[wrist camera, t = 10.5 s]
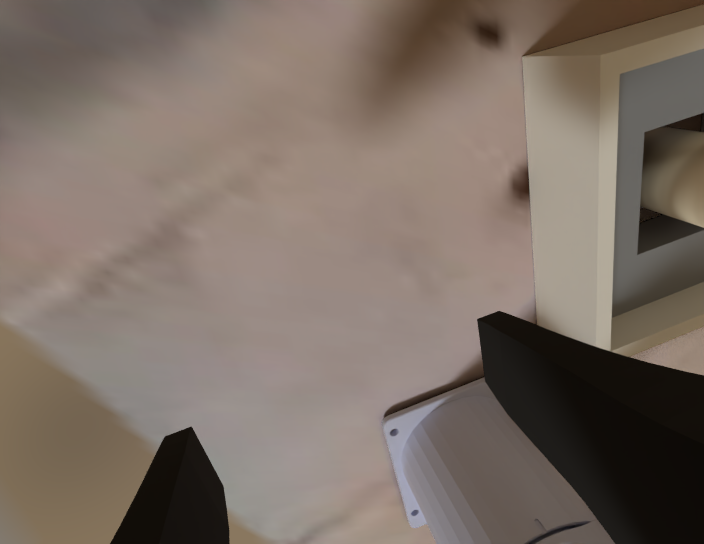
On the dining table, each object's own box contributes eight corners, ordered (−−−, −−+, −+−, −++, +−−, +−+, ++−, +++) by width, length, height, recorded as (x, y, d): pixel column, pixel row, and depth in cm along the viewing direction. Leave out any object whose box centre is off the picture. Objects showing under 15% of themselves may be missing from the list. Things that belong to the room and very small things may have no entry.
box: (740, 245, 28) (826, 275, 24) (537, 324, 26) (595, 370, 22) (785, -20, 22) (912, -38, 18) (522, 56, 20) (600, 55, 16)
